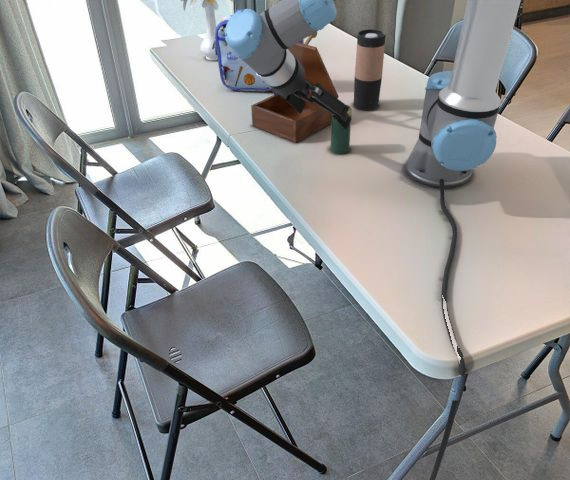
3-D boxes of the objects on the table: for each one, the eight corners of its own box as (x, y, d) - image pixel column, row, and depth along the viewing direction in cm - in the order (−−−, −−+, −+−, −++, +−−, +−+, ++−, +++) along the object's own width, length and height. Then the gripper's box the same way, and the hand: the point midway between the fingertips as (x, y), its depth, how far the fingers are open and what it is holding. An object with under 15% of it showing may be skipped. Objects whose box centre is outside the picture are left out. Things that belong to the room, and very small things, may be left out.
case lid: (314, 49, 132) (329, 27, 132) (267, 36, 140) (281, 16, 140) (337, 98, 148) (350, 79, 148) (293, 84, 156) (306, 66, 156)
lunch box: (214, 93, 168) (205, 16, 153) (220, 80, 175) (213, 6, 161) (302, 94, 165) (303, 17, 150) (305, 81, 173) (305, 6, 158)
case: (295, 143, 142) (295, 121, 138) (252, 126, 150) (251, 105, 146) (337, 119, 152) (338, 99, 148) (294, 105, 160) (294, 85, 156)
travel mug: (348, 108, 157) (352, 35, 144) (358, 98, 162) (363, 27, 149) (373, 113, 155) (380, 39, 141) (382, 103, 160) (390, 31, 146)
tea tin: (341, 156, 136) (343, 114, 129) (326, 150, 139) (327, 109, 131) (353, 149, 139) (356, 107, 132) (338, 143, 141) (339, 102, 134)
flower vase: (184, 55, 193) (172, -24, 176) (234, 49, 197) (228, -29, 180) (190, 68, 184) (179, -14, 167) (243, 61, 188) (237, -20, 171)
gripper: (338, 66, 103) (376, 115, 121) (244, 40, 115) (291, 88, 133) (320, 103, 103) (360, 146, 122) (228, 72, 116) (277, 115, 134)
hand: (324, 115), depth 128 cm, fingers open, 13 cm apart
